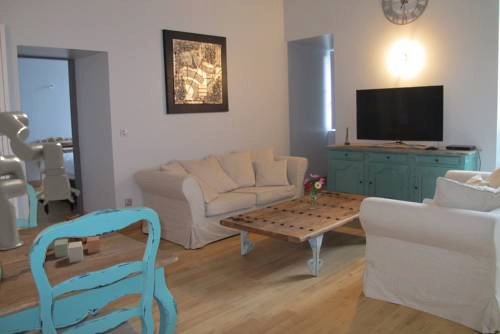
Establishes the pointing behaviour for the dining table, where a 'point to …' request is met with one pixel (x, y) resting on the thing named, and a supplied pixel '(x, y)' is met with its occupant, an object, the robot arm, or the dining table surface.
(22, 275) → the dining table surface
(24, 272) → the dining table surface
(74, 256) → the cream brick
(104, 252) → the dining table surface
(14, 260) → the dining table surface
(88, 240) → the terracotta brick
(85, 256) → the build mat
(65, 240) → the sage brick
